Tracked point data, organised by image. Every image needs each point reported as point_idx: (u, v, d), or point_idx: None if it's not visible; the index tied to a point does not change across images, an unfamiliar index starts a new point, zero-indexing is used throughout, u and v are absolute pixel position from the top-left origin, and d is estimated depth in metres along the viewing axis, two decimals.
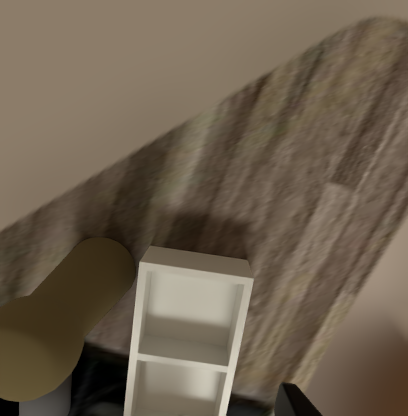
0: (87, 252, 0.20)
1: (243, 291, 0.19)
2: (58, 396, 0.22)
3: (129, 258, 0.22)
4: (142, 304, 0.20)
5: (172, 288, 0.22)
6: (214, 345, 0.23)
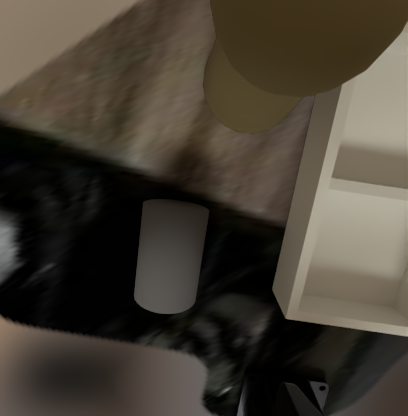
0: None
1: None
2: (197, 259, 0.15)
3: None
4: (351, 91, 0.13)
5: (366, 96, 0.15)
6: None
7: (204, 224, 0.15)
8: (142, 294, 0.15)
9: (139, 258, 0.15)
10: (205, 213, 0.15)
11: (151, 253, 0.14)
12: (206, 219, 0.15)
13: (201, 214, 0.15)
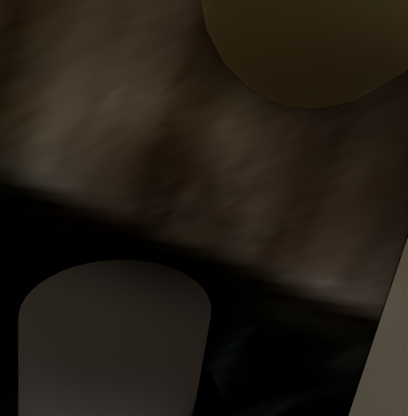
0: None
1: None
2: None
3: None
4: None
5: None
6: None
7: (196, 361, 0.05)
8: None
9: None
10: (200, 329, 0.05)
11: None
12: (203, 342, 0.05)
13: (188, 341, 0.05)
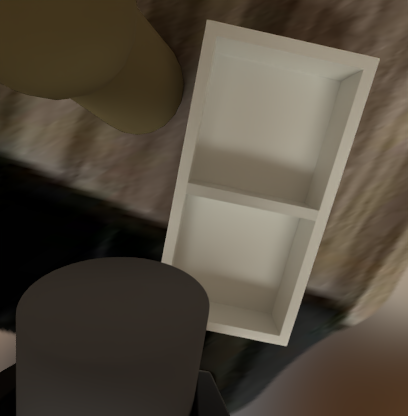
0: None
1: (359, 82, 0.13)
2: None
3: (177, 62, 0.15)
4: (203, 98, 0.13)
5: (238, 105, 0.15)
6: (289, 199, 0.16)
7: (194, 357, 0.05)
8: None
9: None
10: (198, 325, 0.05)
11: None
12: (201, 338, 0.05)
13: (186, 336, 0.05)
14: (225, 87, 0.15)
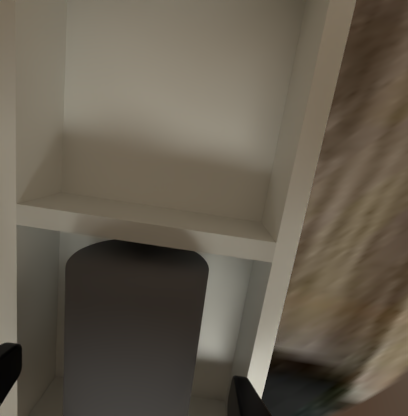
0: None
1: None
2: (184, 376, 0.07)
3: None
4: (15, 31, 0.06)
5: (124, 55, 0.08)
6: (233, 218, 0.09)
7: (197, 305, 0.07)
8: None
9: None
10: (200, 281, 0.07)
11: (79, 378, 0.06)
12: (202, 292, 0.07)
13: (190, 287, 0.07)
14: (96, 23, 0.08)
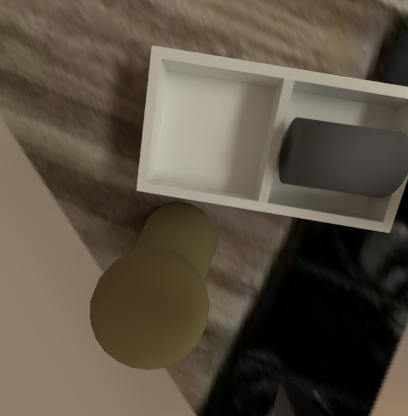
0: None
1: (171, 59, 0.15)
2: (350, 129, 0.14)
3: (162, 207, 0.20)
4: (191, 191, 0.16)
5: (191, 158, 0.18)
6: (272, 104, 0.17)
7: (311, 122, 0.14)
8: (382, 189, 0.15)
9: (340, 189, 0.15)
10: (299, 121, 0.15)
11: (337, 177, 0.14)
12: (306, 119, 0.15)
13: (300, 125, 0.14)
14: (178, 170, 0.18)
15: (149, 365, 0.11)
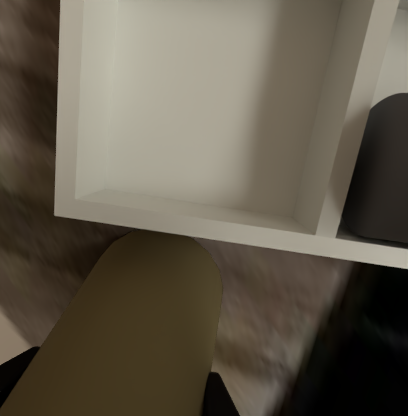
0: None
1: None
2: None
3: (124, 238, 0.11)
4: (171, 214, 0.08)
5: (174, 147, 0.09)
6: (335, 34, 0.08)
7: None
8: None
9: None
10: None
11: None
12: None
13: None
14: (150, 170, 0.10)
15: None
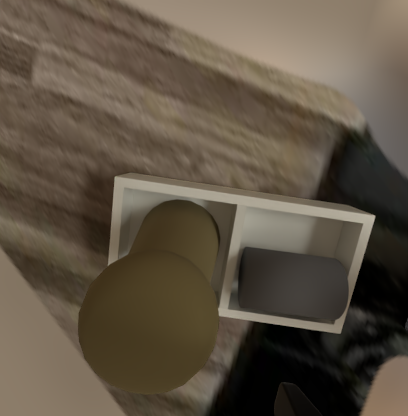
0: None
1: (133, 187, 0.16)
2: (294, 282, 0.15)
3: (161, 204, 0.18)
4: None
5: None
6: (232, 213, 0.18)
7: (259, 275, 0.15)
8: (318, 317, 0.17)
9: None
10: (249, 271, 0.16)
11: (279, 312, 0.17)
12: (256, 269, 0.16)
13: (249, 278, 0.15)
14: None
15: (149, 390, 0.09)
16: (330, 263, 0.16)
